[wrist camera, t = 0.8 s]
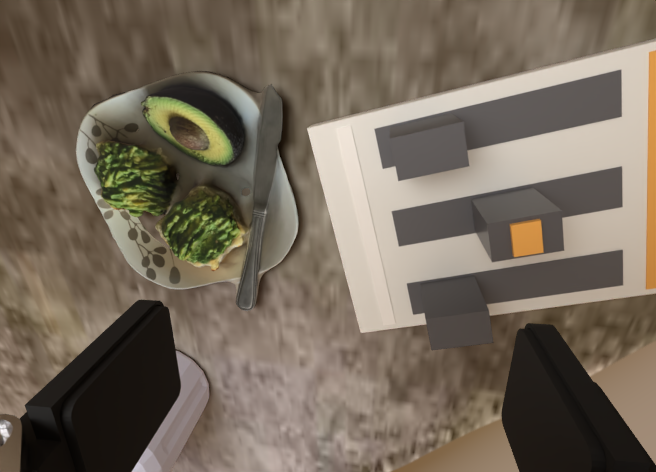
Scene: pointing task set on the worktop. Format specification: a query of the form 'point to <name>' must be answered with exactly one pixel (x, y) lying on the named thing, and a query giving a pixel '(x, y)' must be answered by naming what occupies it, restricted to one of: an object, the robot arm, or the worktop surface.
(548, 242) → the block
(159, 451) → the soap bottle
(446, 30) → the worktop surface
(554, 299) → the breaker switch panel
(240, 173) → the salad plate
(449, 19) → the worktop surface
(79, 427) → the robot arm
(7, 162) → the worktop surface
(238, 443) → the worktop surface
